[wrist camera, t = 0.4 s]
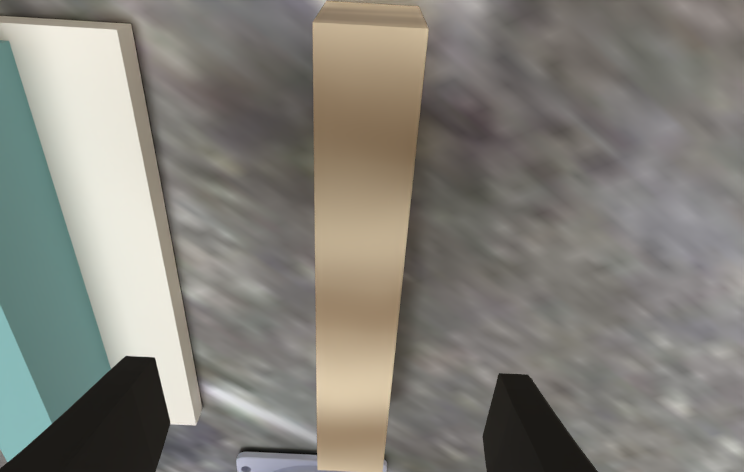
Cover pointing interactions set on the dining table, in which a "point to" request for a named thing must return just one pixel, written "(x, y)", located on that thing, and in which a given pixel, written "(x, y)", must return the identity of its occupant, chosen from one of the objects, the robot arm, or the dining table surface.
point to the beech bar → (361, 216)
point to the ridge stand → (80, 227)
